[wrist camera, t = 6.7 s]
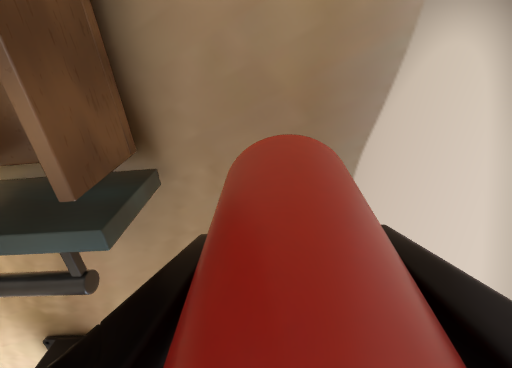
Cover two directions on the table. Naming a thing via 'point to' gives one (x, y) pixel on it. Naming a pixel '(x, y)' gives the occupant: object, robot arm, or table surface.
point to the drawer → (62, 145)
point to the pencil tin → (302, 274)
